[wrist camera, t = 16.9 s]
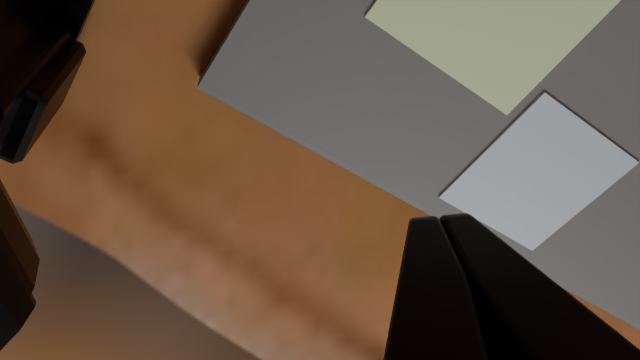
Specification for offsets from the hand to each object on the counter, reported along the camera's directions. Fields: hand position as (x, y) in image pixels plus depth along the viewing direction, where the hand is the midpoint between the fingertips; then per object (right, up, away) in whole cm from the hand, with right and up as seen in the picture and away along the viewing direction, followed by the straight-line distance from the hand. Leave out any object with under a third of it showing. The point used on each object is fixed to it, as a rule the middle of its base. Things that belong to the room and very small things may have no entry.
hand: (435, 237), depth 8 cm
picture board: (+9, +3, +14) cm, 17 cm away
